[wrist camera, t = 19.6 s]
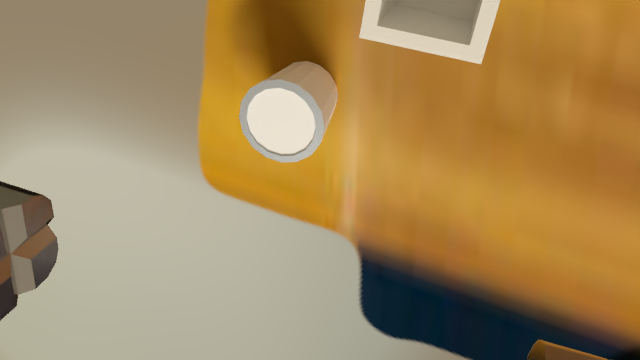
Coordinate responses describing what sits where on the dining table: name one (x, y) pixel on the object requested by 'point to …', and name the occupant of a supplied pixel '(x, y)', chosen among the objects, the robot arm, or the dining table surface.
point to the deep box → (432, 25)
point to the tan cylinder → (289, 111)
